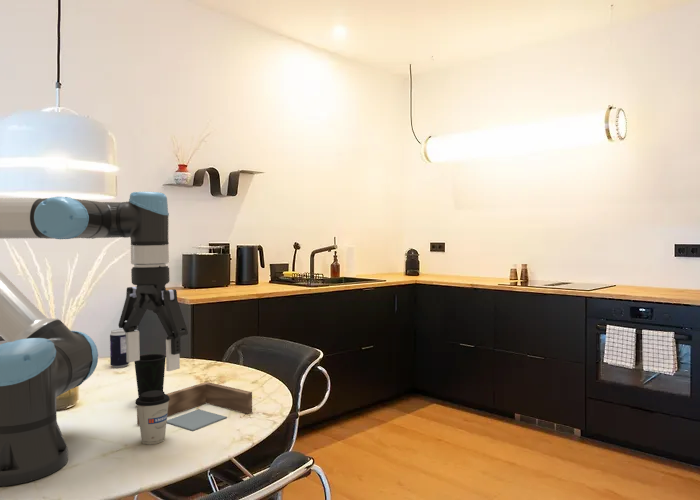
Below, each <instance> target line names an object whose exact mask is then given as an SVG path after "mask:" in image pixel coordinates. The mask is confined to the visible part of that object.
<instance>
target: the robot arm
mask: <svg viewBox="0 0 700 500" xmlns="http://www.w3.org/2000/svg"><path fill="white" fill-rule="evenodd" d="M169 214H170V213H169V207H168V197H167V195H166V194H165V193H162V192H159V191H134V192H131V193H130V195H129V199H128V201H123V202H121V201H119V202H117V201H116V202H115V201H95V200H87V199H80V198H79V199H77V198H72V197H69V196H54V197H52V196H51V197H47V198H40V197H38V198H37V197H34V198H33V197H26V198H25V197H24V198H22V197H20V198H17V197H13V198H12V197H11V198H10V197H9V198H7V197H6V198H3V197H0V239H1V240H3V239H5V240H6V239H7V240H8V239H55V240H71V239H105V238H108V239H109V238H111V239H112V238H113V239H115V238H130V264H131V265H133V266H132V268H131V269H130V270H131V272H130V273H131V284H132V285H133V286H129V287H127V288H126V294H125V295H126V296H125V300H124V303H123V308H122V311H121V314H120V318H119V321H118V328H119V329H123V330H124V332H125V333H126V354H127V362H128V363H129V364H130V363H134V361H138V360H140V356H141V355H140V354H141V353H140V349H141V348H140V331H139V329H140V328H139V324H141V323H140V322H141V321H142V319H143V317H144V316H145V314H146V312H147V311H152V312H153V313H155V314H156V315H157V317H158V319H159V322H160V323H161V326H162V328H163V329H164V331H165V333H166V335H167V337H166V338H165V356H166V359H165V371H166V372H171V371H175V370H179V369H180V368H181V366H180V362H181V361H180V360H181V358H180V354H181V338H182V337H184V336H187V335H188V334H189V330H188V328H187V324H186V322H185V319H184V315H183V313H182V309H181V307H180V304H179V300H178V291H177V290H176V289H166V286H167V284H169V283H170V282H171V281H170V279H171V278H170V267H169V265H167V264H169V263H170V257H169V256H170V255H169V254H170V252H169V244H170V243H169V217H170V215H169ZM0 337H1V338H2V339H3V340H4V341H5V342H4V343H0V487H8V486H14V485H20V484H24V483H28V482H31V481H32V482H33V481H35V480H38V479H39V480H40V479H43V478H44V477H47V476H49V475H51V474H53V473H55V472H58V471H59V470H60V469H62V468H63V467H64V466H66V464H67V463H68V460H69V456H68V455H69V453H68V452H69V451H68V446H67V443H66V441H65V438H64V436H63V433H62V432H61V429H60V426H59V423H58V419H57V418H58V417H57V397H59V396H61V395H63V394H64V393H67V392H68V391H70V390H73V389H75V388H77V387H79V386H81V385H82V384H83V383H84V382H85V381H86V380H88V379H89V378H90V377H91V376H92V375H93V374H94V372H95V370H96V368H97V365H98V362H99V360H98V359H99V350H98V347H97V345H96V342H95V341H94V340H93V338H91V336H89V335H88V334H86V333H85V332H82V331H77V330H71V329H70V328H68V327H67V326H66V325H65V323H63V321H62V320H61V319H59V318H49V317H47V316H46V315H45V314H44V313H43V312H42V311H41V309H39V308H38V307H37V306H36V305H35V304H34V303H33V302H32V301H31V300H30V299H29V298H28V297H27V296H26V295H25V294H24V293H23V292H22V291H21V290H20V289H19V288H18V287H17V286H16V285H15V284H14V283H13V281H11V280H10V279H9V278H8V277H7V276H6V275H5V274H4V273H3V272H2V271H1V270H0Z"/></svg>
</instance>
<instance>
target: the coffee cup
mask: <svg viewBox="0 0 700 500" xmlns="http://www.w3.org/2000/svg"><path fill="white" fill-rule="evenodd" d="M167 394H168V393H165V391H164V390H163V391H159V390H154V391H148V392H144V393H142V394H141V396H140V397H137V398H136V399H135V402H134V403H135V405H136V413H137V412H138V418H139V425H138V426H139V430H140V438H141V444H143V445H155V444H156V445H157V444H159V443H162V442H164V441H165V439H166V430H167V423H166V422H167V420H168V417H167V413H168V403H169V400H170V398H169V396H168V395H167Z"/></svg>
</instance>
